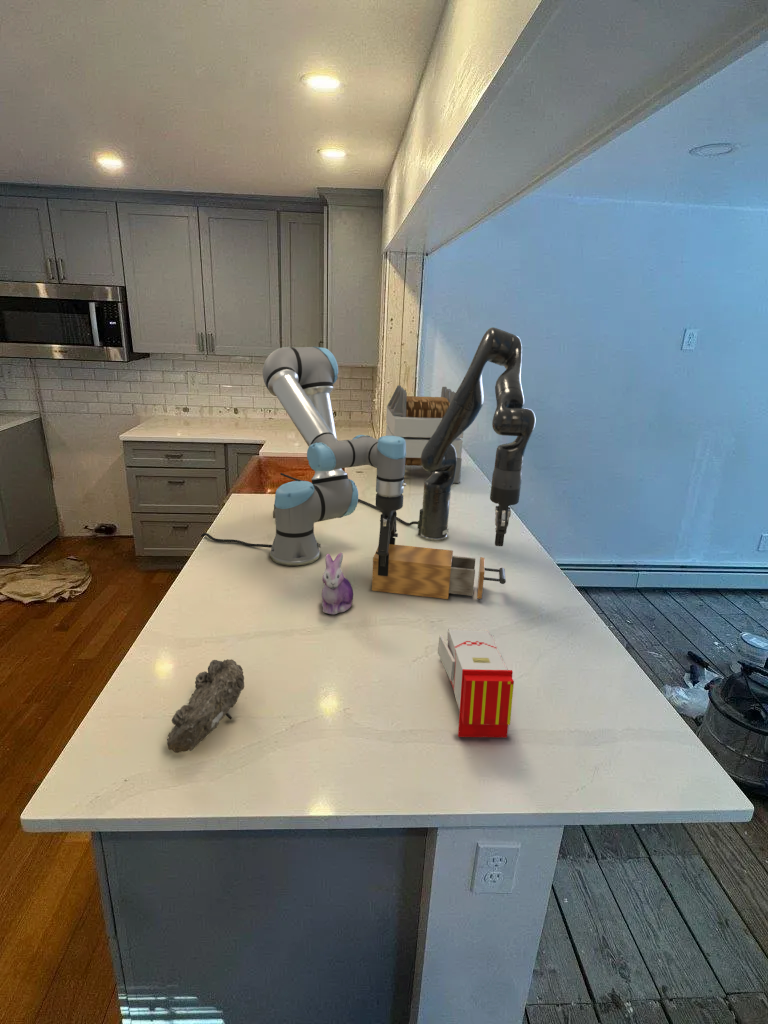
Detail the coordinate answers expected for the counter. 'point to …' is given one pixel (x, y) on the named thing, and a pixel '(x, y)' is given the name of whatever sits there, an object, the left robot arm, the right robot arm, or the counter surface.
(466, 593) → the drawer
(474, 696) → the toy
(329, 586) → the figurine
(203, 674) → the fossil
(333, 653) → the counter surface
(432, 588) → the cabinet
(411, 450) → the transformer
